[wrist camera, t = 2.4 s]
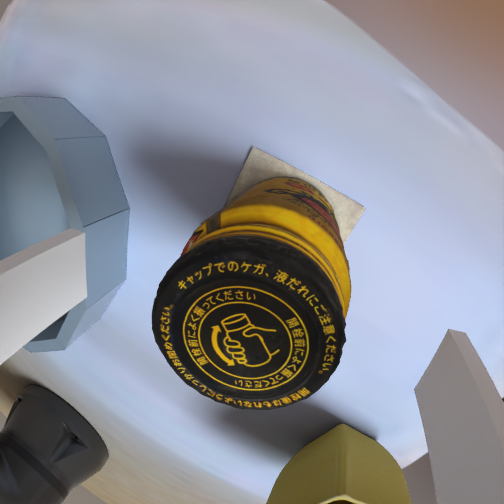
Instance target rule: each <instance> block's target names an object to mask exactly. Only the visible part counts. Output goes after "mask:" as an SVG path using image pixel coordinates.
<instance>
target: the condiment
mask: <svg viewBox="0 0 504 504" xmlns="http://www.w3.org/2000/svg"><path fill="white" fill-rule="evenodd" d="M365 209H366V208H364V207H363V206H361V205H360V204H358V203H356V202H354V201H353V200H351V199H349V198H348V197H346V196H344V195H343V194H341V193H339V192H338V191H336V190H334V189H332V188H331V187H329V186H327V185H325V184H324V183H322V182H320V181H318V180H317V179H315V178H313V177H311V176H309V175H307V174H306V173H304V172H302V171H300V170H298V169H296V168H294V167H292V166H291V165H289V164H287V163H285V162H283V161H281V160H279V159H277V158H275V157H273V156H271V155H269V154H267V153H265V152H263V151H261V150H259V149H257V148H255V147H253V148H252V150H251V152H250V154H249V156H248V158H247V160H246V162H245V164H244V166H243V169H242V171H241V173H240V175H239V177H238V179H237V181H236V183H235V185H234V187H233V189H232V191H231V193H230V195H229V197H228V199H227V202H226V204H225V206H224V208H222V209H221V210H220V211H218V212H217V213H215V214H214V215H213V216H211V217H210V218H208V219H207V220H205V221H204V222H202V223H201V225H200V226H199V227H198V228H197V229H196V230H195V231H194V233H193V235H192V237H191V238H190V239H189V241H188V242H187V244H186V246H185V247H184V249H183V252H182V254H181V257H180V258H179V259H178V260H177V261H176V262H175V263H174V264H173V265H172V267H171V268H170V269H169V270H168V271H167V273H166V275H165V276H164V278H163V280H162V281H161V282H160V284H159V288H158V290H157V296H156V298H155V299H154V305H153V310H152V330H153V333H154V337H155V341H156V343H157V345H158V346H159V349H160V350H161V352H162V354H163V355H164V357H165V358H166V360H167V362H168V364H169V365H170V366H171V367H172V369H173V370H174V371H175V372H176V374H177V375H178V376H179V377H180V378H181V379H182V380H183V381H184V382H185V383H186V384H187V385H189V386H190V387H192V388H194V389H195V390H197V391H198V392H199V393H200V394H202V395H204V396H206V397H209V398H211V399H213V400H214V401H216V402H219V403H223V404H226V405H229V406H232V407H235V408H239V409H255V410H269V409H276V408H281V407H285V406H288V405H291V404H293V403H296V402H298V401H301V400H304V399H307V398H309V397H310V396H311V395H312V394H314V393H315V392H316V391H318V390H319V389H320V388H321V387H322V386H323V385H324V384H325V383H326V382H327V381H328V380H329V378H330V376H331V375H332V374H333V373H334V371H335V370H336V368H337V366H338V365H339V363H340V358H341V355H342V348H343V345H344V343H345V342H346V337H345V331H344V329H345V326H346V322H345V318H346V315H347V312H348V307H349V302H350V298H351V280H350V275H349V263H348V260H347V258H346V254H345V251H344V246H343V245H344V243H345V241H346V240H347V238H348V236H349V235H350V233H351V232H352V230H353V229H354V227H355V225H356V223H357V222H358V220H359V218H360V217H361V215H362V213H363V212H364V211H365Z"/></svg>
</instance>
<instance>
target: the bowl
mask: <svg viewBox="0 0 504 504" xmlns="http://www.w3.org/2000/svg"><path fill="white" fill-rule="evenodd" d="M129 210H130V209H129V205H128V202H127V200H126V197H125V194H124V191H123V188H122V185H121V183H120V180H119V177H118V174H117V171H116V168H115V165H114V162H113V159H112V155H111V152H110V149H109V146H108V143H107V139H106V137H105V135H104V134H103V133H101V132H100V131H99V130H98V129H97V128H96V127H95V126H94V125H93V124H92V123H91V122H90V121H89V120H88V119H87V118H85V117H84V116H83V115H82V114H81V113H80V112H79V111H78V110H77V109H76V108H75V107H74V106H73V105H72V104H71V103H70V102H69V101H68V100H66V99H65V98H51V97H29V96H14V97H5V98H0V261H1V260H3V259H5V258H7V257H9V256H11V255H13V254H15V253H17V252H19V251H21V250H23V249H26V248H28V247H30V246H32V245H34V244H36V243H38V242H41V241H43V240H45V239H47V238H49V237H52V236H54V235H56V234H59V233H61V232H63V231H65V230H68V229H70V228H72V229H75V230H79V231H82V232H85V259H86V283H87V298H85V299H84V300H82V301H81V302H80V303H78V304H77V305H76V306H74V307H73V308H72V309H70V310H69V311H68V312H66V313H65V314H64V315H62V316H61V317H60V318H59V319H57V320H56V321H55V322H53V323H52V324H51V325H49V326H48V327H47V328H46V329H44V330H43V331H42V332H40V333H39V334H38V335H37V336H35V337H34V338H33V339H32V340H30V341H29V342H28V343H27V344H25V345H24V346H23V348H25V349H26V350H28V351H29V352H46V351H59V350H65V349H66V348H67V347H68V346H70V345H71V344H72V343H73V342H74V341H75V340H76V339H77V338H78V337H80V336H81V335H82V334H83V333H84V332H85V331H86V330H87V329H89V328H90V327H91V326H92V325H93V324H94V323H95V322H97V321H98V320H99V319H100V318H101V316H102V315H103V313H104V311H105V310H106V308H107V307H108V305H109V304H110V302H111V301H112V299H113V298H114V296H115V295H116V293H117V292H118V290H119V289H120V287H121V286H122V284H123V283H124V281H125V280H126V263H127V240H128V224H129Z"/></svg>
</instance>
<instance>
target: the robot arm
mask: <svg viewBox="0 0 504 504" xmlns="http://www.w3.org/2000/svg"><path fill="white" fill-rule="evenodd" d="M85 298H87V283H86V259H85V232H82V231H79V230H75V229H72V228H70V229H68V230H65V231H63V232H61V233H59V234H56V235H54V236H52V237H49V238H47V239H45V240H43V241H41V242H38V243H36V244H34V245H32V246H30V247H28V248H26V249H23V250H21V251H19V252H17V253H15V254H13V255H11V256H9V257H7V258H5V259H3V260H1V261H0V365H1V364H2V363H3V362H4V361H6V360H7V359H8V358H9V357H10V356H12V355H13V354H14V353H15V352H17V351H18V350H19V349H20V348H22V347H23V346H24V345H25V344H27V343H28V342H29V341H30V340H32V339H33V338H34V337H35V336H37V335H38V334H39V333H40V332H42V331H43V330H44V329H46V328H47V327H48V326H49V325H51V324H52V323H53V322H55V321H56V320H57V319H59V318H60V317H61V316H62V315H64V314H65V313H66V312H68V311H69V310H70V309H72V308H73V307H74V306H76V305H77V304H78V303H80V302H81V301H82V300H84V299H85ZM414 391H415V395H416V398H417V402H418V406H419V410H420V415H421V419H422V423H423V428H424V432H425V437H426V442H427V446H428V451H429V457H430V462H431V467H432V473H433V479H434V485H435V492H436V499H437V504H504V403H503V401H502V399H501V397H500V395H499V393H498V391H497V389H496V387H495V385H494V383H493V381H492V379H491V377H490V375H489V373H488V371H487V370H486V368H485V366H484V364H483V362H482V361H481V359H480V357H479V355H478V353H477V352H476V350H475V348H474V347H473V345H472V343H471V341H470V340H469V338H468V336H467V335H466V333H464V332H460V331H455V330H451V329H448V331H447V333H446V335H445V337H444V339H443V341H442V342H441V344H440V346H439V348H438V350H437V352H436V353H435V355H434V357H433V359H432V361H431V362H430V364H429V366H428V367H427V369H426V371H425V373H424V374H423V376H422V377H421V379H420V381H419V382H418V384H417V386H416V387H415V389H414ZM108 457H109V454H108V450H107V448H106V446H105V444H104V442H103V441H102V439H101V438H100V436H99V435H98V434H97V432H96V431H95V430H94V429H93V428H92V427H91V426H90V424H89V423H88V422H87V421H86V420H85V419H84V418H83V417H82V416H81V415H80V414H78V413H77V412H76V411H75V410H74V409H73V408H72V407H70V406H69V405H68V404H67V403H66V402H64V401H63V400H62V399H60V398H59V397H57V396H56V395H55V394H53V393H51V392H50V391H48V390H46V389H44V388H42V387H40V386H36V385H28V386H26V387H25V388H24V389H23V390H22V391H21V392H20V393H19V394H18V396H17V397H16V399H15V402H14V404H13V406H12V408H11V411H10V413H9V415H8V418H7V420H6V423H5V425H4V428H3V429H2V431H1V432H0V504H62V502H63V501H64V499H65V498H66V496H67V495H68V493H69V492H70V491H71V490H72V489H73V488H74V487H76V486H77V485H79V484H81V483H82V482H84V481H85V480H87V479H88V478H90V477H91V476H92V475H94V474H95V473H97V472H98V471H100V470H101V468H102V467H103V466H104V464H105V463H106V461H107V459H108Z"/></svg>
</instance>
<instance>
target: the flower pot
mask: <svg viewBox="0 0 504 504" xmlns="http://www.w3.org/2000/svg"><path fill="white" fill-rule="evenodd" d="M266 504H412V503H411V500H410V495H409V492H408V488H407V484H406V481H405V478H404V475H403V472H402V470H401V468H400V466H399V465H398V463H397V462H396V460H395V459H394V458H393V456H392V455H391V454H390V453H389V452H388V451H387V450H386V449H385V448H384V447H383V446H382V445H381V444H380V443H379V442H377V441H375V440H373V439H371V438H369V437H367V436H366V435H364V434H362V433H360V432H358V431H357V430H355V429H353V428H351V427H350V426H348V425H346V424H339V425H337V426H336V427H334V428H333V429H331V430H330V431H328V432H326V433H325V434H323V435H322V436H320V437H319V438H317V439H315V440H314V441H312V442H310V443H309V444H307V445H305V446H304V447H303V448H302V449H301V450H300V451H299V452H298V453H297V454H296V455H295V456H294V457H293V458H292V459H291V460H290V461H289V462H288V463H287V464H286V466H285V467H284V468H283V470H282V471H281V473H280V474H279V476H278V478H277V480H276V482H275V484H274V486H273V488H272V491H271V493H270V496H269V498H268V501H267V503H266Z"/></svg>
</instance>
